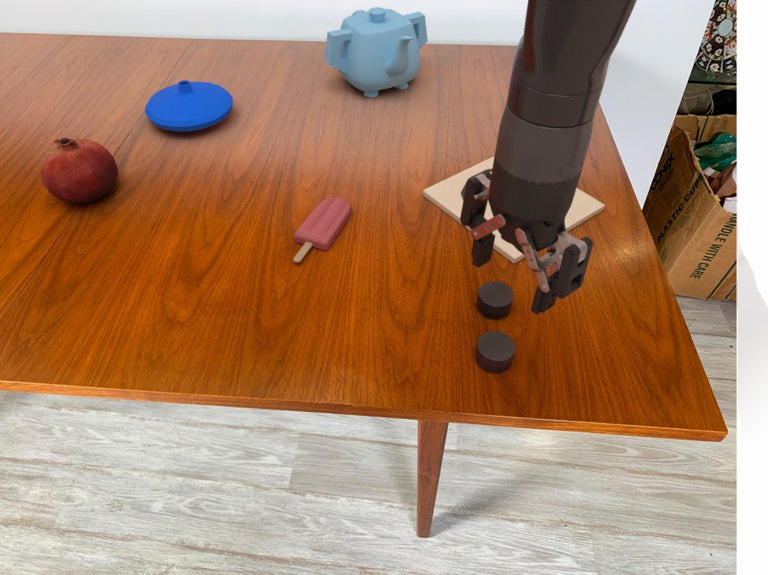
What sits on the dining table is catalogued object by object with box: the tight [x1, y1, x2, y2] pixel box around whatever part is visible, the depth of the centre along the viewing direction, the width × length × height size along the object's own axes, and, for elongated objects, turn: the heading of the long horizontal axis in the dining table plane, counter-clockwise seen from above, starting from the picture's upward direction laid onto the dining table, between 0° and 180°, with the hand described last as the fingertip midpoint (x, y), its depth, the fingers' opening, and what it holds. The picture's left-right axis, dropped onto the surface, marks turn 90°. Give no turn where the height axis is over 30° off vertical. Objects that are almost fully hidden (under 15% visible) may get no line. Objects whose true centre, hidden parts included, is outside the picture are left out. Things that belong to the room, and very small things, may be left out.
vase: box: [144, 79, 234, 132], centre depth 106 cm, size 16×16×7 cm
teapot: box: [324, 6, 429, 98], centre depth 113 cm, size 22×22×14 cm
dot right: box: [475, 280, 515, 320], centre depth 75 cm, size 4×4×2 cm
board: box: [422, 155, 606, 264], centre depth 91 cm, size 20×20×1 cm
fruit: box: [40, 137, 119, 204], centre depth 89 cm, size 11×10×10 cm
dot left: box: [474, 330, 516, 374], centre depth 69 cm, size 4×4×2 cm
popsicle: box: [292, 196, 352, 264], centre depth 85 cm, size 5×2×15 cm
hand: (509, 285), depth 61 cm, fingers open, 8 cm apart
